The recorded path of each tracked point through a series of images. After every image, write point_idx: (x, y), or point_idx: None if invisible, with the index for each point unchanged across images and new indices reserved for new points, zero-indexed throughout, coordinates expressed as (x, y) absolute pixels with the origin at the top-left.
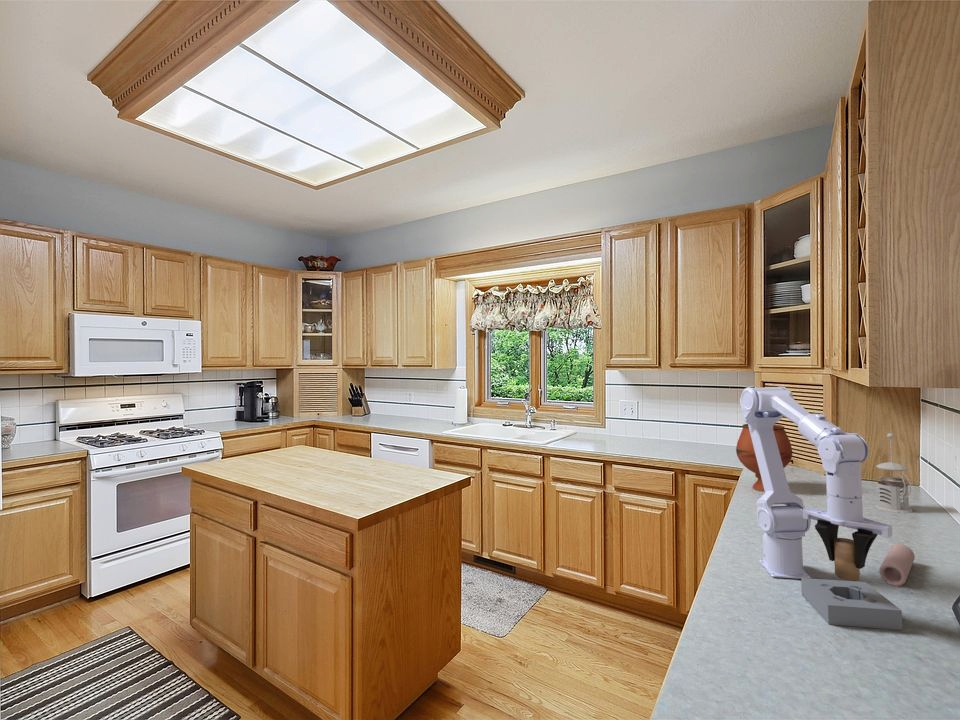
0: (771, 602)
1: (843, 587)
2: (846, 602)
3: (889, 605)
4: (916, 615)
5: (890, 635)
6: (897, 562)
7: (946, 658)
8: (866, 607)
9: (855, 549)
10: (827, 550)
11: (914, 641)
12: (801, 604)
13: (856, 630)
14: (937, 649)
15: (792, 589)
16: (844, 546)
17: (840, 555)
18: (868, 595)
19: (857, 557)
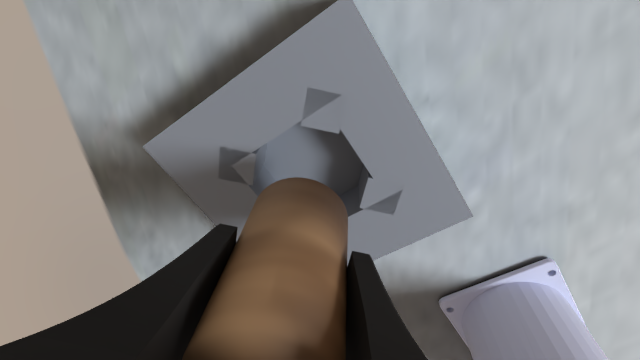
0: (558, 42)
1: None
2: (293, 86)
3: (180, 162)
4: (182, 239)
5: (184, 59)
6: None
7: (37, 9)
8: (226, 88)
9: (179, 295)
10: (381, 290)
11: (129, 67)
12: (450, 105)
13: (266, 16)
14: (75, 57)
15: (485, 207)
16: (257, 312)
17: (299, 257)
18: (252, 204)
19: (199, 258)
